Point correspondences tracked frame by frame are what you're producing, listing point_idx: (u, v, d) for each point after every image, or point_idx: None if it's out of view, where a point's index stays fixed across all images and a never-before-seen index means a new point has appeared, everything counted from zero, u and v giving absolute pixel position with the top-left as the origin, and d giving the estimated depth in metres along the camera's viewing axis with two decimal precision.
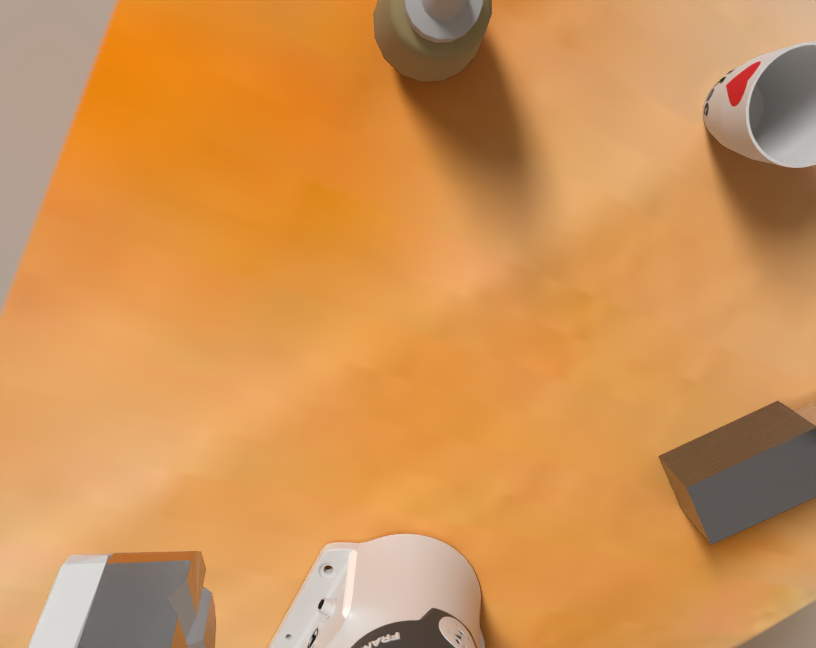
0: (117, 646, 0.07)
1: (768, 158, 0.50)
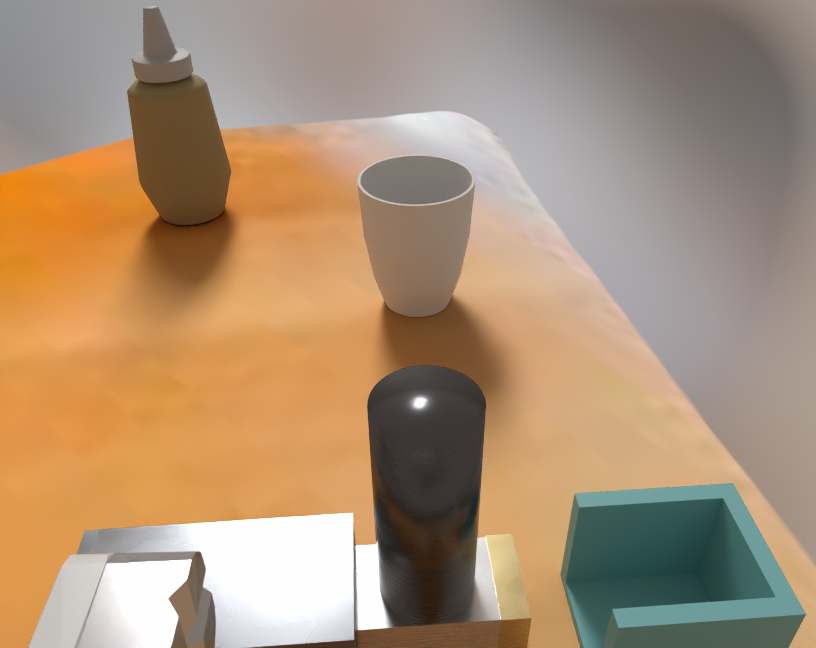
0: (117, 646, 0.07)
1: (368, 195, 0.49)
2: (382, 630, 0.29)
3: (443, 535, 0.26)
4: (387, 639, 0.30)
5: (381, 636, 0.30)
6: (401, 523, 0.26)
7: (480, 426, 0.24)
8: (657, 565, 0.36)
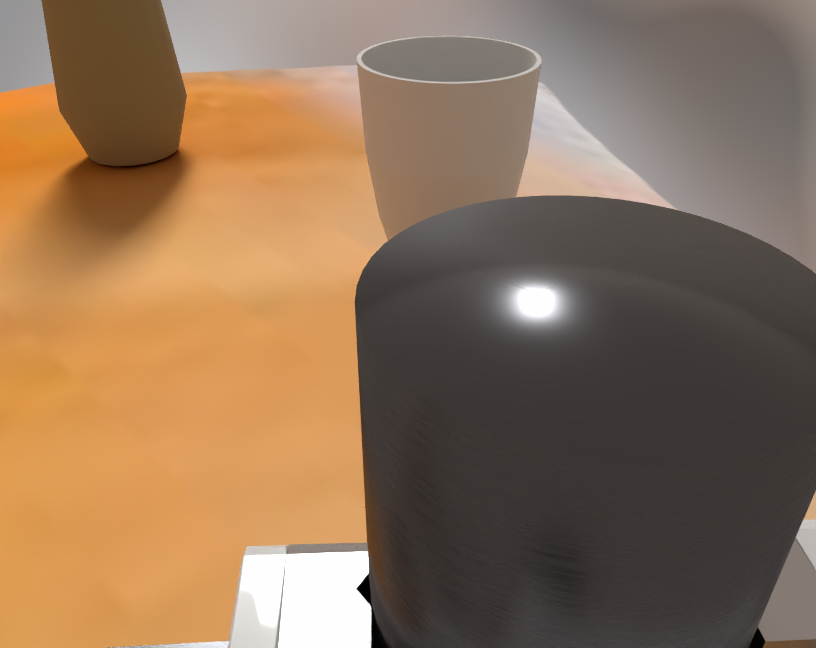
0: (319, 635, 0.07)
1: (373, 72, 0.31)
2: None
3: None
4: None
5: None
6: None
7: None
8: None
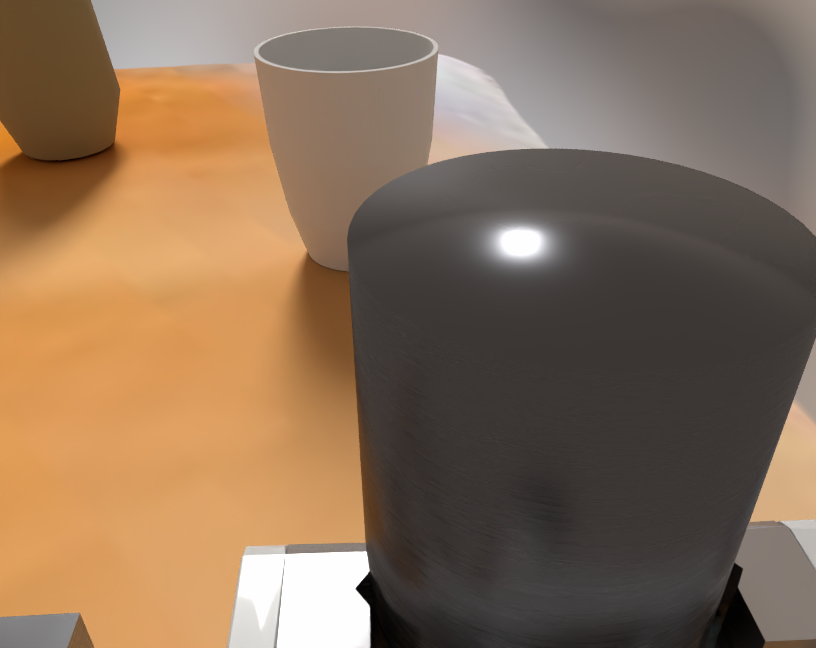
0: (317, 635, 0.07)
1: (265, 62, 0.31)
2: None
3: None
4: None
5: None
6: None
7: None
8: None
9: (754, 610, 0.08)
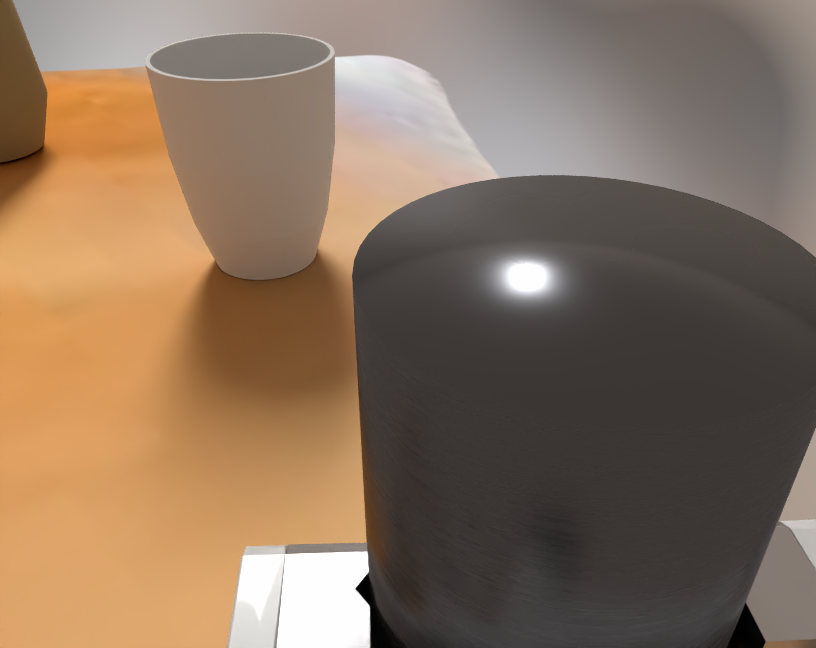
0: (317, 635, 0.07)
1: (152, 70, 0.30)
2: None
3: None
4: None
5: None
6: None
7: None
8: None
9: (753, 610, 0.08)
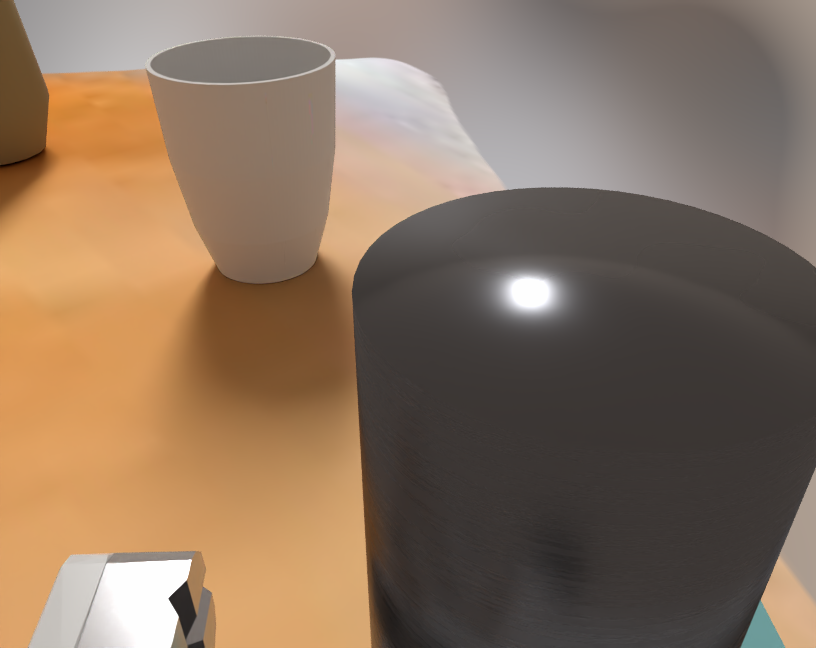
0: (117, 646, 0.07)
1: (152, 73, 0.30)
2: None
3: None
4: None
5: None
6: None
7: None
8: None
9: None
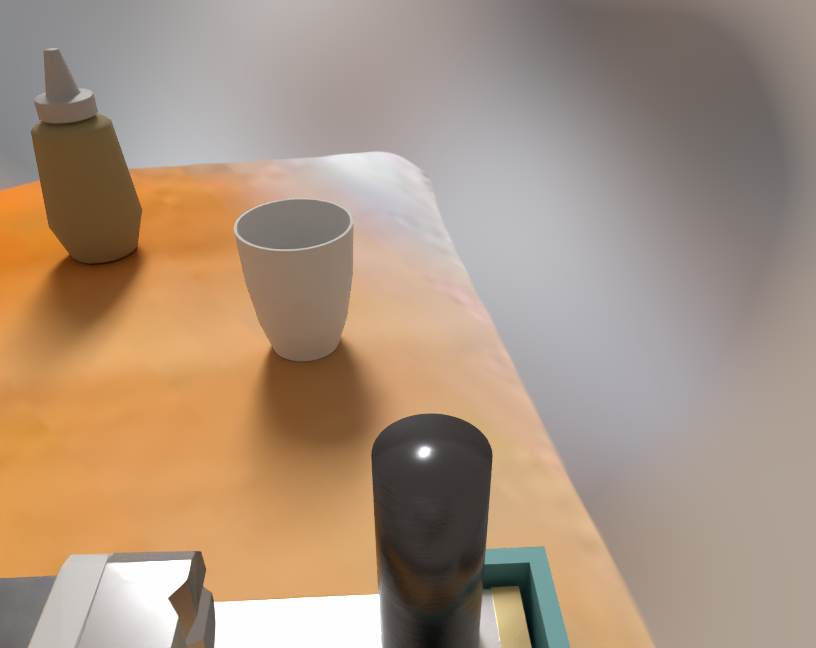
0: (117, 646, 0.07)
1: (240, 239, 0.49)
2: None
3: (447, 589, 0.25)
4: None
5: None
6: (404, 576, 0.25)
7: (486, 478, 0.24)
8: None
9: None
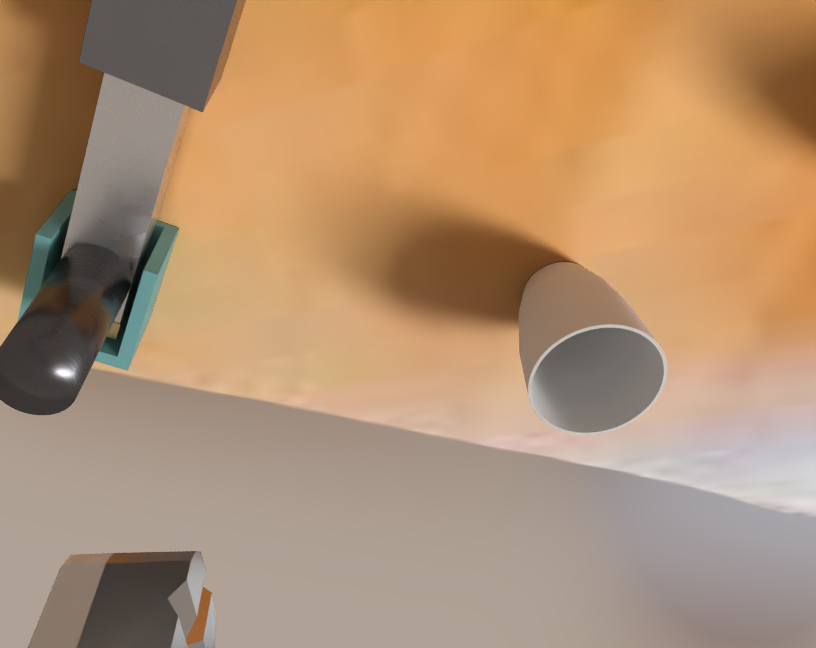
0: (117, 646, 0.07)
1: (597, 325, 0.41)
2: (67, 233, 0.41)
3: None
4: None
5: None
6: (29, 306, 0.37)
7: None
8: None
9: None
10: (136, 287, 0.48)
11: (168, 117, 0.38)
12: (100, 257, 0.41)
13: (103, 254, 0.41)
